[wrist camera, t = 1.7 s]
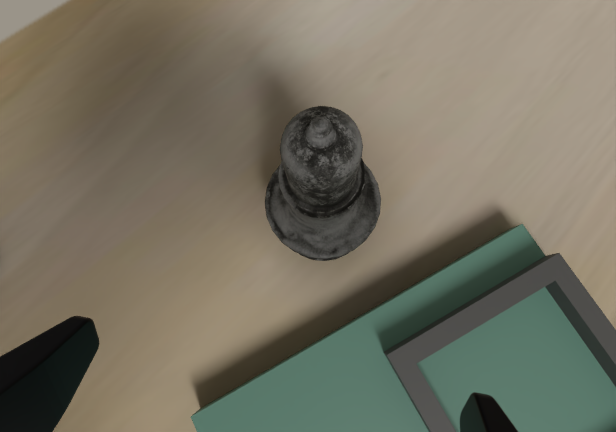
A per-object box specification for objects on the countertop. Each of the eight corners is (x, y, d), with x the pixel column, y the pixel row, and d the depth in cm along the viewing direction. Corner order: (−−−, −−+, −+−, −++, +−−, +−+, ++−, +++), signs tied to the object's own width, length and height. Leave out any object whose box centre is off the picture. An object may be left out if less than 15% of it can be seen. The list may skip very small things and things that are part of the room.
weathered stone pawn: (262, 252, 22) (193, 193, 11) (287, 161, 24) (250, 18, 12) (361, 276, 22) (403, 242, 10) (381, 181, 23) (439, 52, 11)
